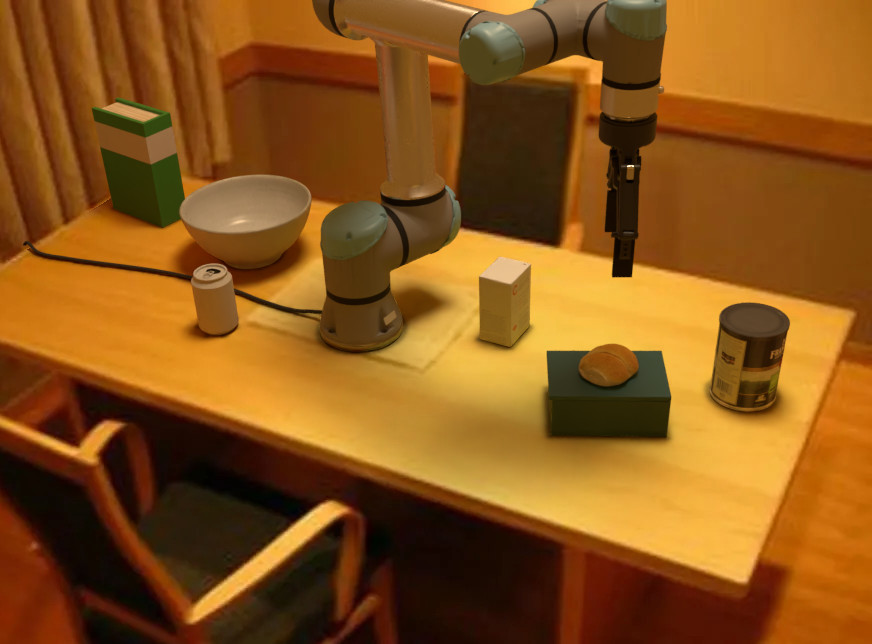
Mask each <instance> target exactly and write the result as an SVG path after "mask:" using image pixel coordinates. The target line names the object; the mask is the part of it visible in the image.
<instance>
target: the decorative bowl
mask: <svg viewBox="0 0 872 644" xmlns="http://www.w3.org/2000/svg"><path fill="white" fill-rule="evenodd" d="M312 200H313V199H312V193H311V192H310V189H309V188H308V187H307V186H306V185H305V184H303V183H301V182H299V181H298V180H297V179H296V180H295V179H293V178H290V177H286V176H281V175H274V174H248V175H246V174H245V175H238V176H232V177H227V178H224V179H220V180H215V181H214V182H210V183H208V184H206V185H205V184H204V185H203V186H201V187H199V188H198V189H195V190H193V192H191V193H189V195H187V196H185V200H184V201H183V202H182V204H181V206H180V210H179V213H180V217H181V219H180V220H181V222H182V224H183V226H184V228H185V229H186V231H187V232H188V234H189V236H190V237H191V238H192V239H193V241H195V243H196V244H197V245H198V246H199V247H200V248H201V249H203V250H204V251H205V252H206V253H208V254H209V255H211V256H213V257H214V258H217V259H218V260H220V261H224V263H225V264H226V265H228V266H230V267H232V268H235V269H240V270H253V269H260V268H264V267H268V266H269V265H272V264H274V263H276V262H277V261H278V260H279V259H280V258H281V257H282V255H283V253H285V252H286V251H288V249H290V248H291V247H292V246H293V245H294V244H295V242H296V241H297V240H298V239H299V237H300V236H301V234H302V232H303V231H304V229H305V226H306V225H307V222H308V219H309V216H310V212H311V207H312V202H313V201H312Z"/></svg>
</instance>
